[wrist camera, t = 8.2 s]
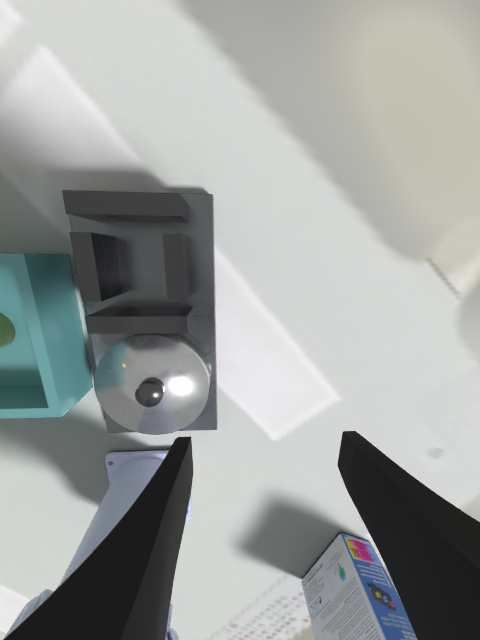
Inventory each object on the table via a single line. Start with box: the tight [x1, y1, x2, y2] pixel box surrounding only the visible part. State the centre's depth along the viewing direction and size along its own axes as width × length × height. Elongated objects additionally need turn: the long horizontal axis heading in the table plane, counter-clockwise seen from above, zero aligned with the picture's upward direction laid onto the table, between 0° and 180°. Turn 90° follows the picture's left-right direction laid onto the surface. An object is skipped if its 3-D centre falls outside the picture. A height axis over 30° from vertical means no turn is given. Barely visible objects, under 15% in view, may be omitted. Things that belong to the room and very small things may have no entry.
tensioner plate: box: [62, 190, 217, 435], centre depth 17 cm, size 20×10×4 cm, turn 179°
